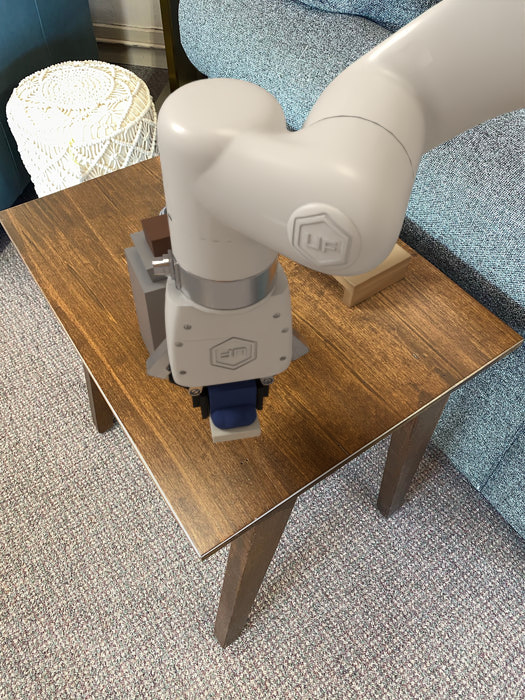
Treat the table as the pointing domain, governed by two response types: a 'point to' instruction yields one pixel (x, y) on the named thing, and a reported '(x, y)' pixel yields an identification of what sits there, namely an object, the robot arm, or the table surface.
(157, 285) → the perfume bottle
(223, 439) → the high-top sneaker
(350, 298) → the shoe shelf
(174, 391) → the table surface
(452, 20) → the robot arm
